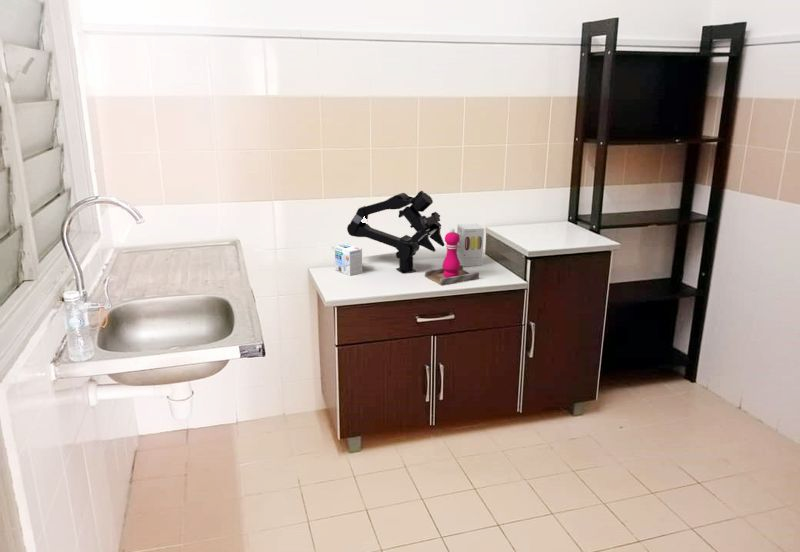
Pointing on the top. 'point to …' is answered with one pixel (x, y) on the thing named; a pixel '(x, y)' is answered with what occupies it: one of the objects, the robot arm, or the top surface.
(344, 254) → the light bulb box
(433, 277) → the track board
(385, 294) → the top surface
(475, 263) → the supplement box
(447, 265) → the pepper mill
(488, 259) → the top surface
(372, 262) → the top surface
